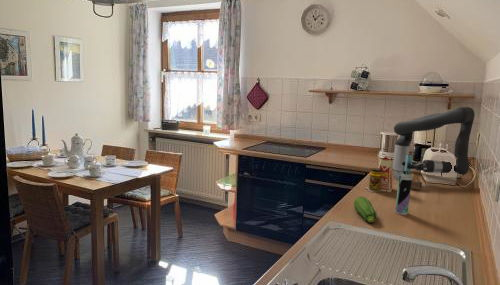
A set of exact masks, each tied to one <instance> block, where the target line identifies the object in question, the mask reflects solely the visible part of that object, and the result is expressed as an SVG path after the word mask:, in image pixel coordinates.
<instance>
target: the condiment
mask: <svg viewBox="0 0 500 285" xmlns="http://www.w3.org/2000/svg"><path fill="white" fill-rule="evenodd" d="M381 176H382V175H381V169H378V167H373V168H371V171H370V173H369V183H368V186H365V187H364V188H365V189H367V190H368V191H370V192H373V193H376V192H377V193H380V192H383V191H382V190H380V187H381Z"/></svg>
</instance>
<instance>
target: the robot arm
mask: <svg viewBox="0 0 500 285" xmlns="http://www.w3.org/2000/svg"><path fill="white" fill-rule="evenodd" d="M475 115H476V114H475V110H474V109H473V108H472V107H469V106H462V107H457V108H456V107H455V108H454V109H452V110H448V111H445V112H440V113H434V114H433V113H432V114H428V115H425V116H421V117H418V118H415V119H412V120H406V121H398V122H397V123H395V125H394V127H393V131H394V133H395V135H398V136H399V138H398V139H396V140H395V143H394V153H393V162H392V171H393V170H394V171H405V162H406V155H410V145H411V143H412V140H413V133H414V132H426V131H432V130H436V129H439V128H442V127H444V126H446V125H453V124H454V125H455V124H460V129H459V133H458V136H457V138H456V140H455V144H454V152H453V155H454V157H455V158H456V160H455V161H456V165H455V166H454V171H455V172H454V173H456V174H459V175H461V176H464V175H467V174H468V172H469V171H470V161H469V157H468V155H469V143H470V138H471V132H472V129H473V128H472V127H473V123H474V120H475ZM445 161H446V160H436V159H424V160H422V162H421V161H417V160H412V162H411V165H407V168H408V169H411V170H416V171H422V172H423V173H427V174H429V173H430V174H431V173H432V174H449V173H451V172H450V171H451V169H452V165H451V163H450V162H445Z"/></svg>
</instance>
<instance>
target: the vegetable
mask: <svg viewBox="0 0 500 285" xmlns="http://www.w3.org/2000/svg"><path fill="white" fill-rule="evenodd" d="M353 207H354V209H355V211H356V212H358V214H359V215H360V216H361V217H362V218H363V220H364V221H365V222H367V223H369V224H370V223H374V222H375V221H376V220H377V212H376V210H375V208H374V207H373V205H372V203H371V201H370V200H369V199H368V198H367V197H365V196H358V197H356V198H354V201H353Z"/></svg>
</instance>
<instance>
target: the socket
mask: <svg viewBox="0 0 500 285" xmlns="http://www.w3.org/2000/svg"><path fill="white" fill-rule="evenodd" d="M422 186H423V182H422V181H421V180H419V179H415V181H413V180H412V182H411V191H422Z"/></svg>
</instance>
